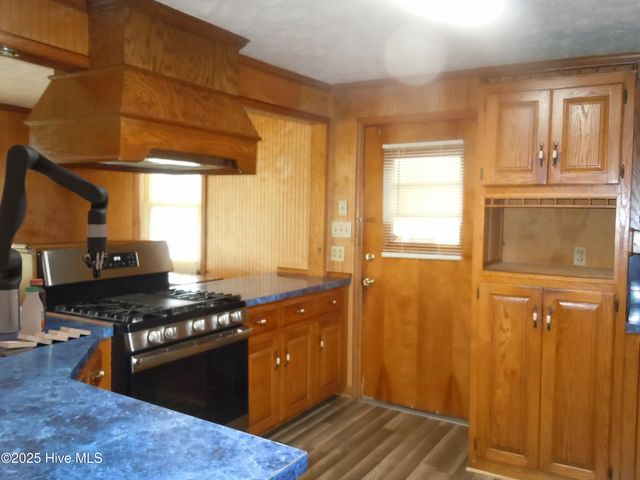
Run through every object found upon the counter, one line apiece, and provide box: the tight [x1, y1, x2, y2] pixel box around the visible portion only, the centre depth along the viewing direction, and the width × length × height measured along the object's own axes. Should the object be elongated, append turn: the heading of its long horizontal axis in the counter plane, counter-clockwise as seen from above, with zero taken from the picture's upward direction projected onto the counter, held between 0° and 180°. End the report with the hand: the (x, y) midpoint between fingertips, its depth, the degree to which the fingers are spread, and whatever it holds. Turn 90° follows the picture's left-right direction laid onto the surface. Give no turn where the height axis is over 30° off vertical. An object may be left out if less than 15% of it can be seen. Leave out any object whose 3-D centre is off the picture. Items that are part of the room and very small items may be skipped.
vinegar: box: [28, 278, 47, 328], centre depth 223 cm, size 7×7×20 cm
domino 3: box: [17, 333, 53, 346], centre depth 191 cm, size 2×5×10 cm
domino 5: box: [47, 329, 81, 339], centre depth 201 cm, size 2×5×10 cm
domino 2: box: [0, 346, 34, 357], centre depth 183 cm, size 2×5×10 cm
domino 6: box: [59, 326, 92, 336], centre depth 206 cm, size 2×5×10 cm
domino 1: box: [0, 340, 38, 349], centre depth 185 cm, size 2×5×10 cm
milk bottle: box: [20, 286, 45, 341], centre depth 201 cm, size 8×8×20 cm
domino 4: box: [35, 332, 69, 342], centre depth 196 cm, size 2×5×10 cm
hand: (96, 278), depth 215 cm, fingers closed
